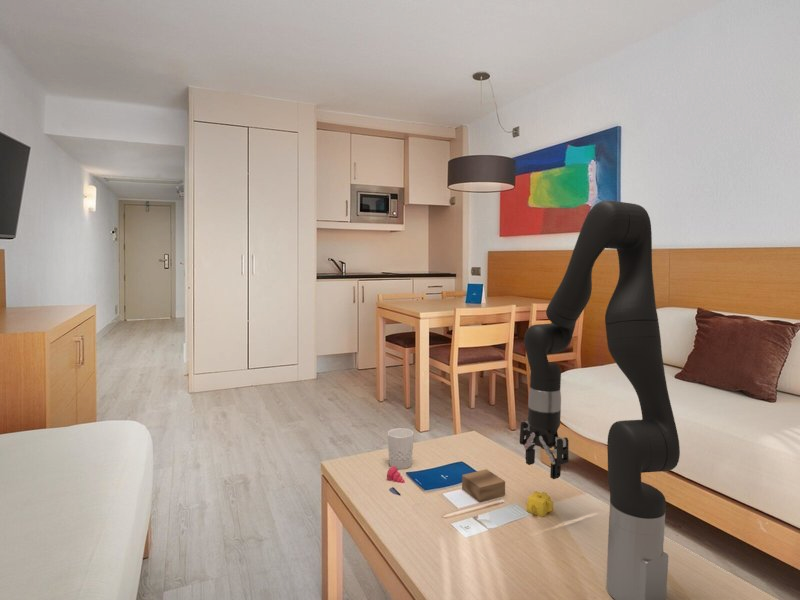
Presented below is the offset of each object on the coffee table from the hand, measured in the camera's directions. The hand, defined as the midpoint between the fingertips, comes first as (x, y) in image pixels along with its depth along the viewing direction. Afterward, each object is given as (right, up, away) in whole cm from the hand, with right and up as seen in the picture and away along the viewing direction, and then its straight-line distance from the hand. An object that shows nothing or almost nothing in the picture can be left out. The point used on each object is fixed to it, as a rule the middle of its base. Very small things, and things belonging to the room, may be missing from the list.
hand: (542, 470), depth 118 cm
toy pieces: (-33, -10, +15) cm, 38 cm away
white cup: (-34, -9, +29) cm, 46 cm away
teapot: (0, -11, +1) cm, 11 cm away
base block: (-13, -9, +10) cm, 19 cm away
